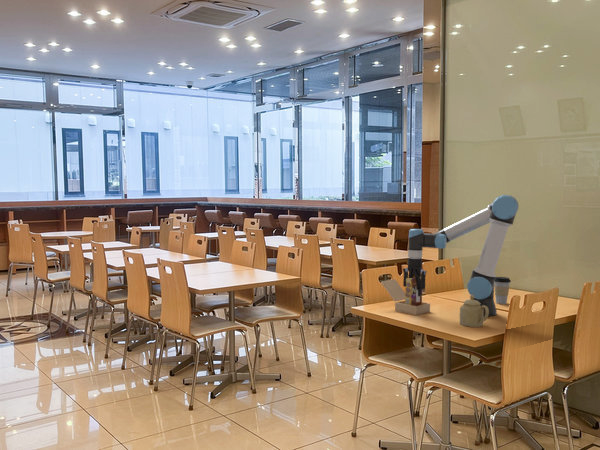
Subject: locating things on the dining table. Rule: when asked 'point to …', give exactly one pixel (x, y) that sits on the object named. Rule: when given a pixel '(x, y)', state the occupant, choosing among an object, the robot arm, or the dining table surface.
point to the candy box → (412, 292)
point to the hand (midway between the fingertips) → (413, 301)
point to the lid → (394, 289)
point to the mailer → (412, 308)
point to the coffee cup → (501, 289)
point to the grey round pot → (472, 313)
